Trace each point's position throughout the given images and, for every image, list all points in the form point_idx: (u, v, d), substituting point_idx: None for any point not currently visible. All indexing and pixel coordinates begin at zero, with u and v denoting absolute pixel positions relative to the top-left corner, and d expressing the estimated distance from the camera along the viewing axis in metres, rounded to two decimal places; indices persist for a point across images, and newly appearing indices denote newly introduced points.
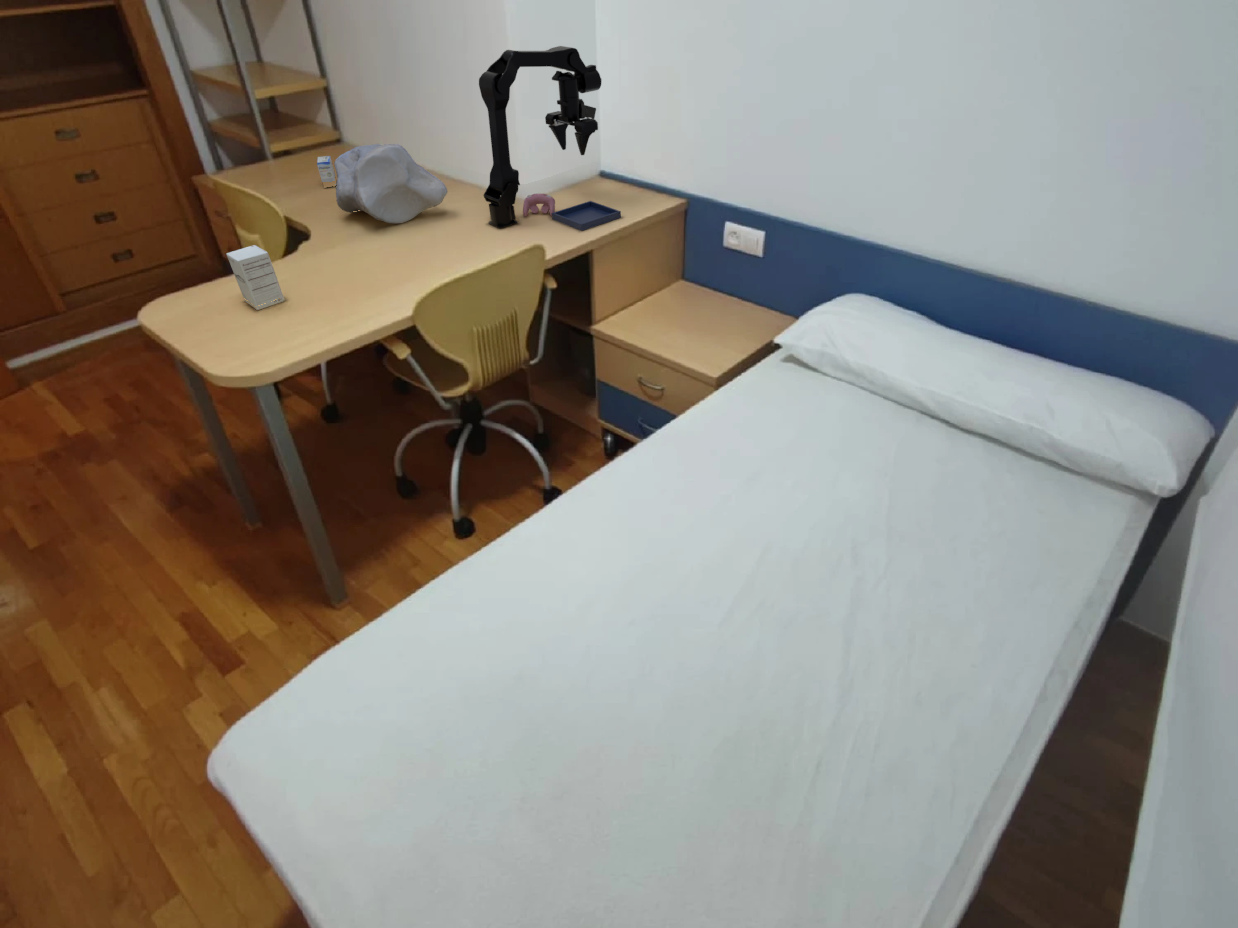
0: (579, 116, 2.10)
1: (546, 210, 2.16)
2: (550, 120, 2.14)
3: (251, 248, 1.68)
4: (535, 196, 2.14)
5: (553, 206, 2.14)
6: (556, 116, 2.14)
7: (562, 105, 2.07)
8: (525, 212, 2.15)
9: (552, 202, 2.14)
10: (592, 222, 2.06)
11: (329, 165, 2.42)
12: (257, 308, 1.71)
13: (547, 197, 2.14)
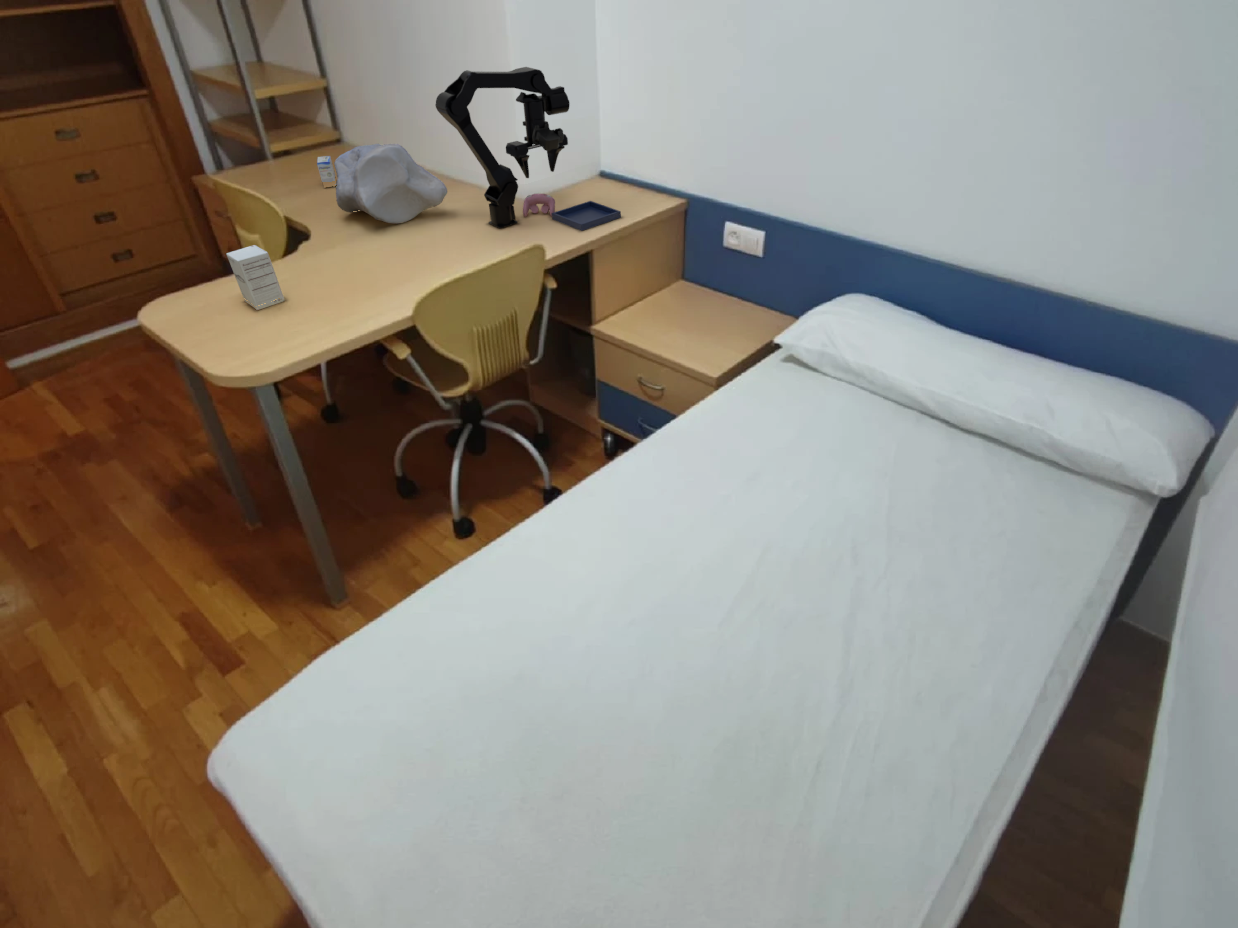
0: (532, 140, 2.03)
1: (546, 210, 2.16)
2: None
3: (251, 248, 1.68)
4: (535, 196, 2.14)
5: (553, 206, 2.14)
6: None
7: None
8: (525, 212, 2.15)
9: (552, 202, 2.14)
10: (592, 222, 2.06)
11: (329, 165, 2.42)
12: (257, 308, 1.71)
13: (547, 197, 2.14)
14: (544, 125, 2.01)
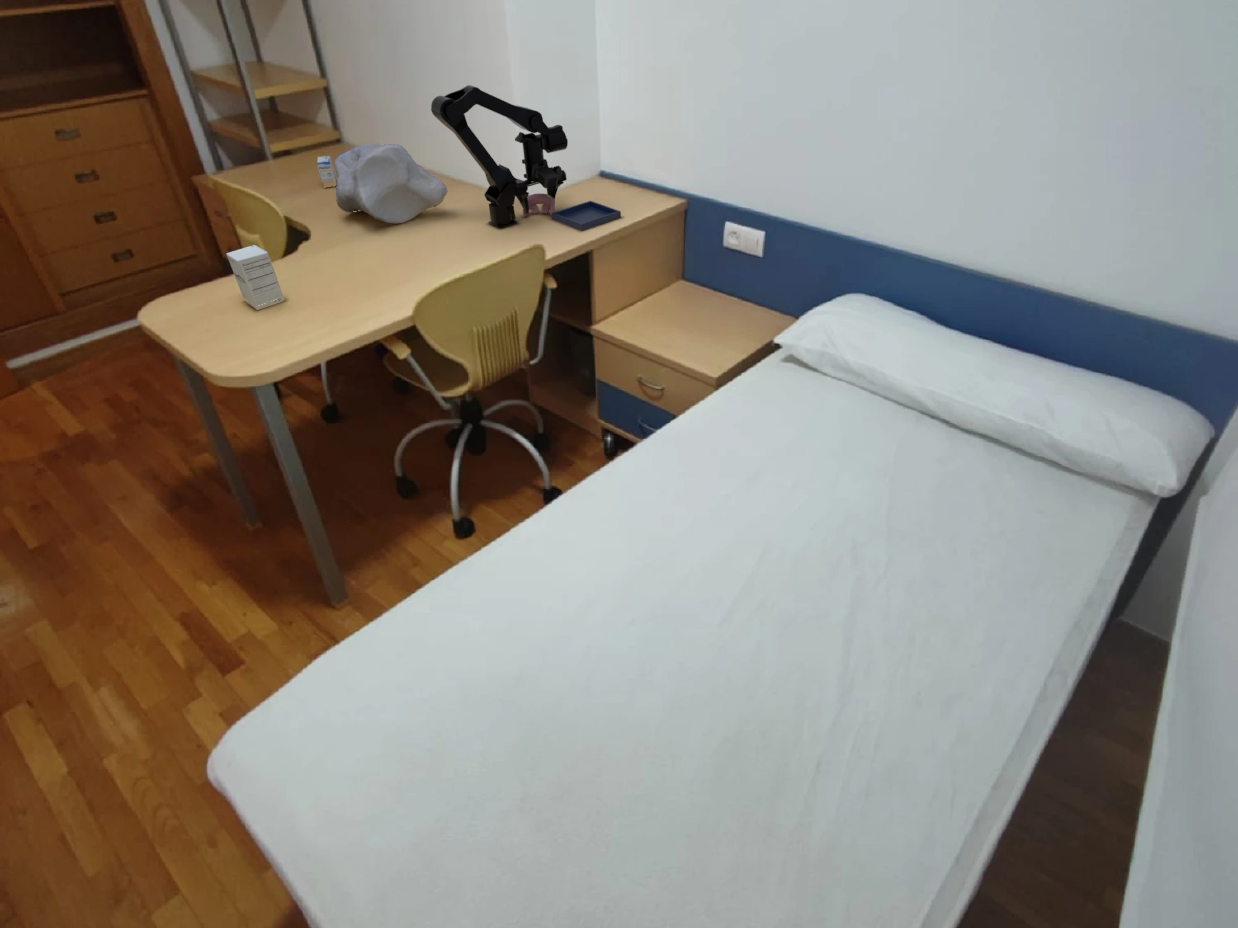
0: (531, 178, 2.08)
1: (546, 210, 2.16)
2: None
3: (251, 248, 1.68)
4: (535, 196, 2.14)
5: (553, 206, 2.14)
6: None
7: None
8: (525, 212, 2.15)
9: (552, 202, 2.14)
10: (592, 222, 2.06)
11: (329, 165, 2.42)
12: (257, 308, 1.71)
13: (547, 197, 2.14)
14: (543, 163, 2.06)
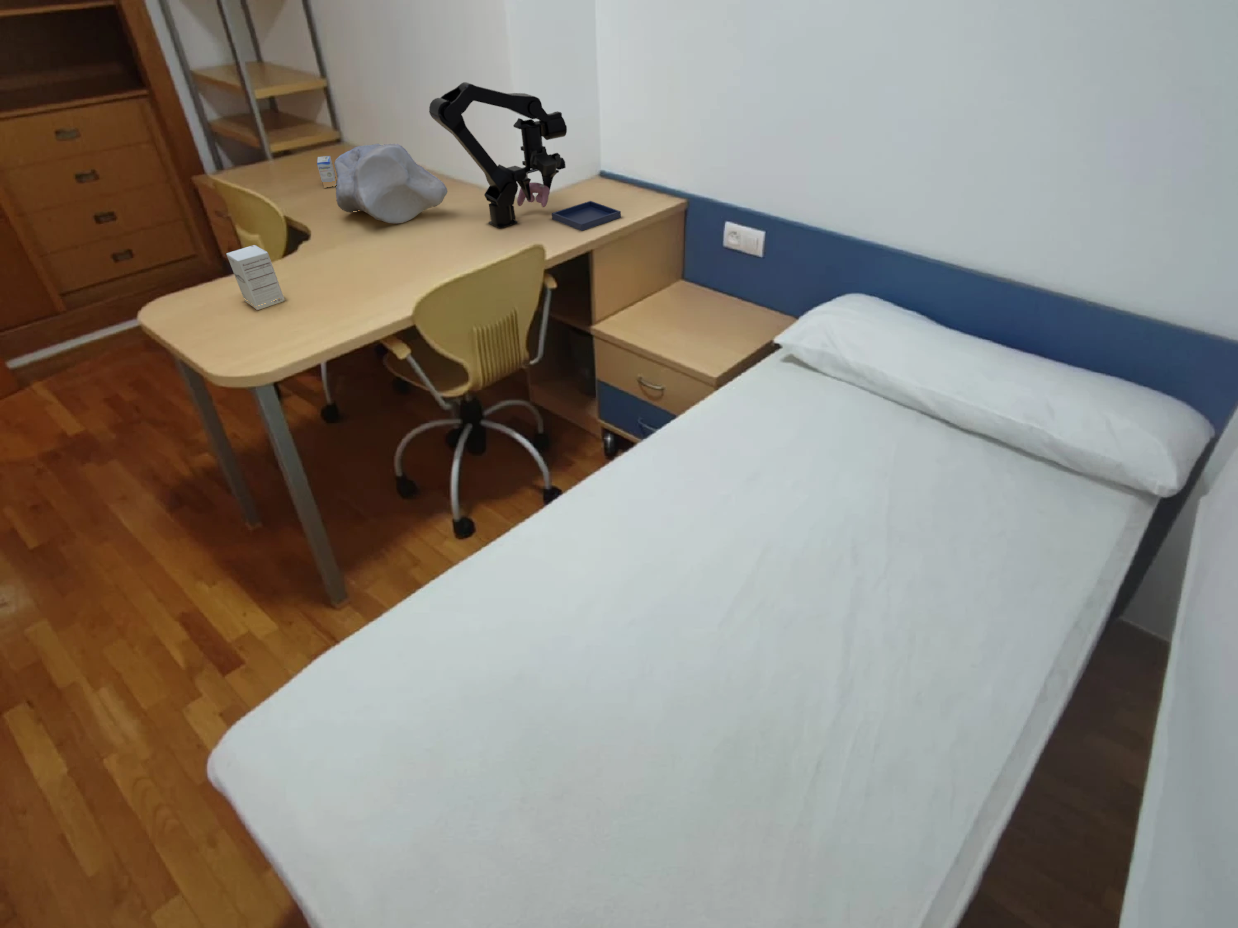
0: (530, 165, 2.06)
1: (540, 200, 2.14)
2: None
3: (251, 248, 1.68)
4: None
5: (545, 196, 2.12)
6: None
7: None
8: (519, 202, 2.15)
9: (544, 192, 2.12)
10: (592, 222, 2.06)
11: (329, 165, 2.42)
12: (257, 308, 1.71)
13: (540, 187, 2.12)
14: (542, 150, 2.04)
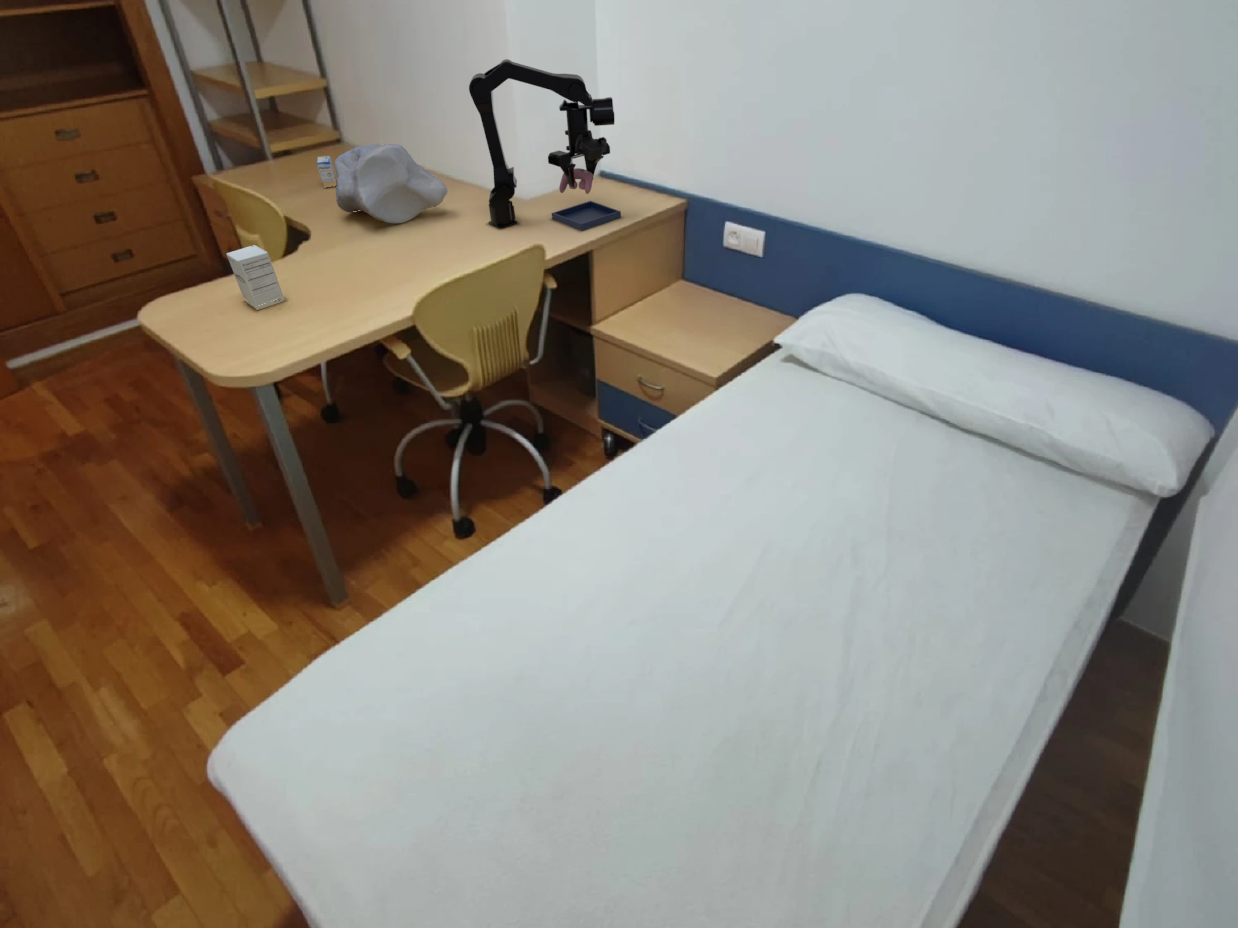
0: (575, 149, 1.98)
1: (583, 186, 2.07)
2: None
3: (251, 248, 1.68)
4: None
5: (589, 183, 2.05)
6: None
7: None
8: (561, 188, 2.07)
9: (588, 178, 2.04)
10: (592, 222, 2.06)
11: (329, 165, 2.42)
12: (257, 308, 1.71)
13: (584, 173, 2.05)
14: (587, 134, 1.97)
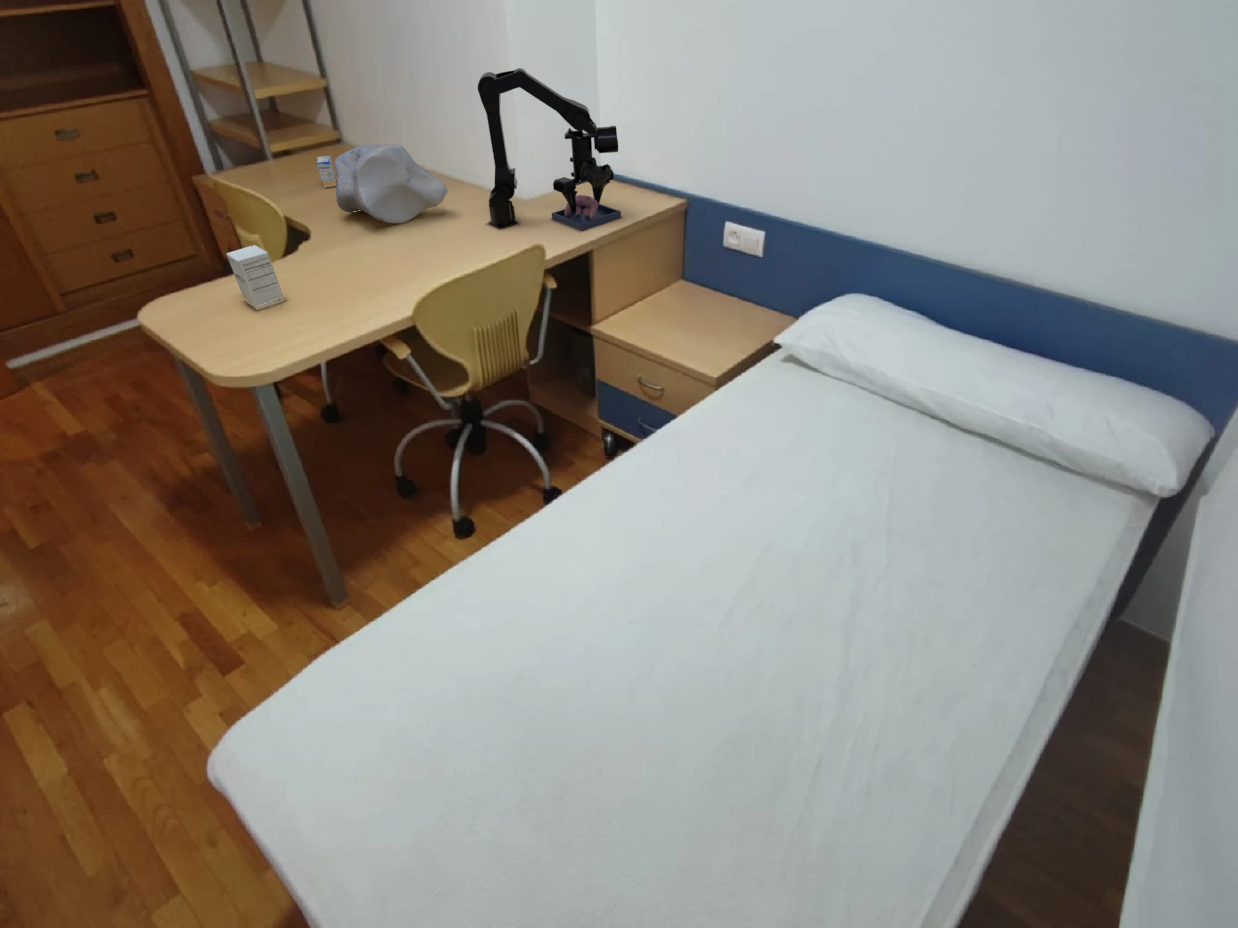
0: (579, 176, 2.03)
1: (588, 213, 2.12)
2: None
3: (251, 248, 1.68)
4: (578, 198, 2.10)
5: (594, 210, 2.09)
6: None
7: None
8: (566, 213, 2.12)
9: (594, 205, 2.09)
10: (592, 222, 2.06)
11: (329, 165, 2.42)
12: (257, 308, 1.71)
13: (590, 200, 2.09)
14: (592, 161, 2.01)
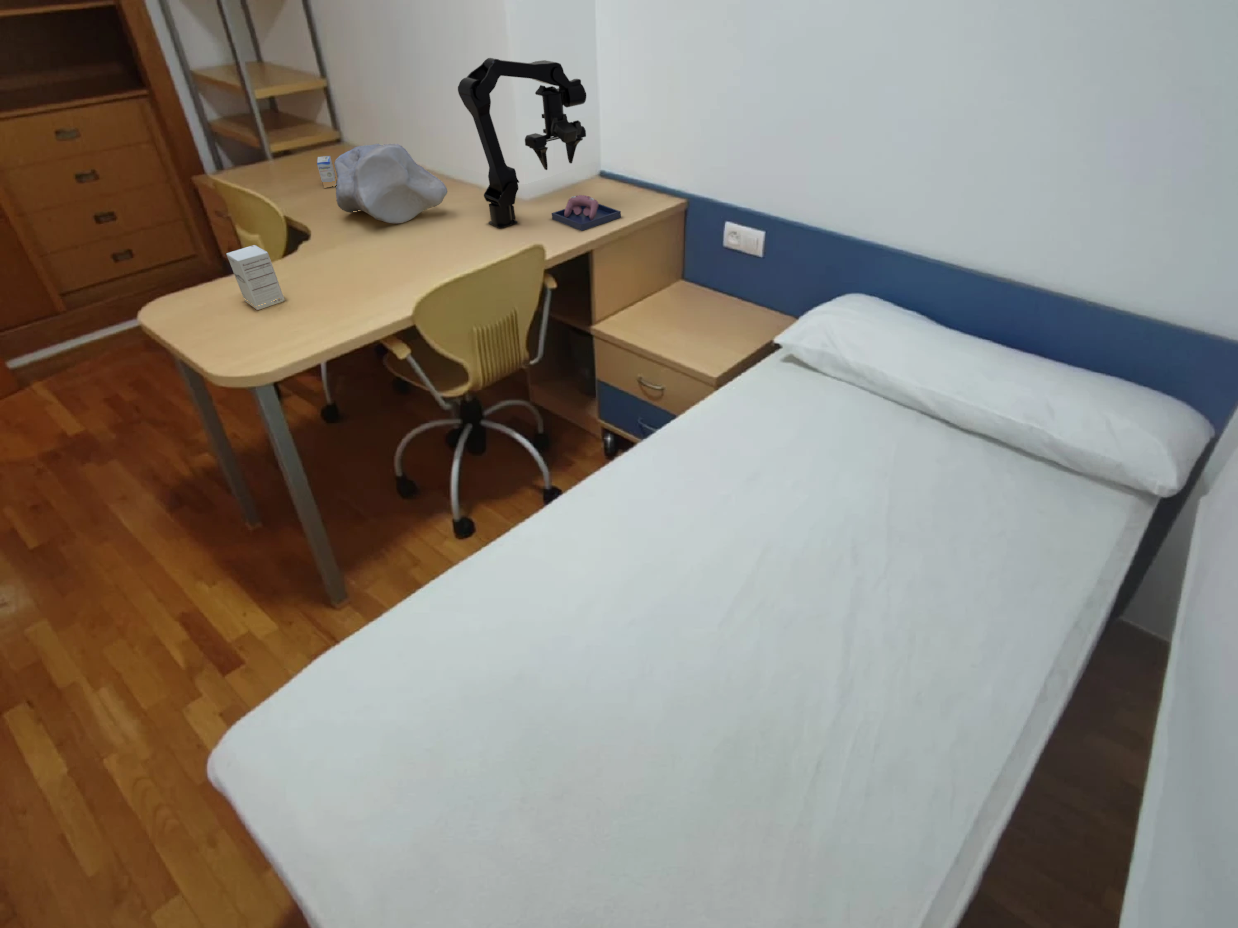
0: (550, 132, 2.07)
1: (588, 213, 2.12)
2: None
3: (251, 248, 1.68)
4: (578, 198, 2.10)
5: (594, 210, 2.09)
6: None
7: None
8: (566, 213, 2.12)
9: (594, 205, 2.09)
10: (592, 222, 2.06)
11: (329, 165, 2.42)
12: (257, 308, 1.71)
13: (590, 200, 2.09)
14: (562, 117, 2.05)
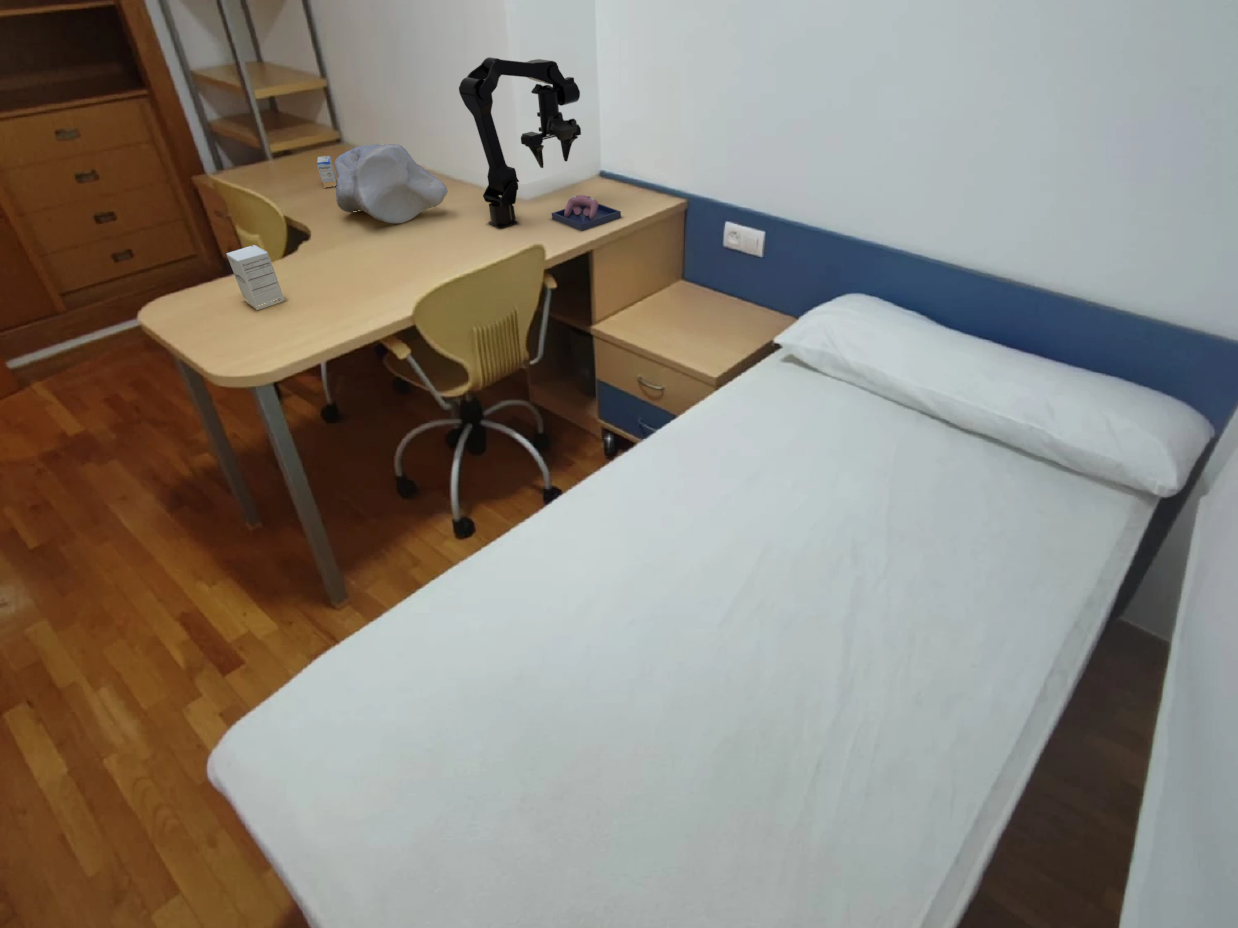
0: (546, 130, 2.08)
1: (588, 213, 2.12)
2: None
3: (251, 248, 1.68)
4: (578, 198, 2.10)
5: (594, 210, 2.09)
6: None
7: None
8: (566, 213, 2.12)
9: (594, 205, 2.09)
10: (592, 222, 2.06)
11: (329, 165, 2.42)
12: (257, 308, 1.71)
13: (590, 200, 2.09)
14: (558, 116, 2.07)
